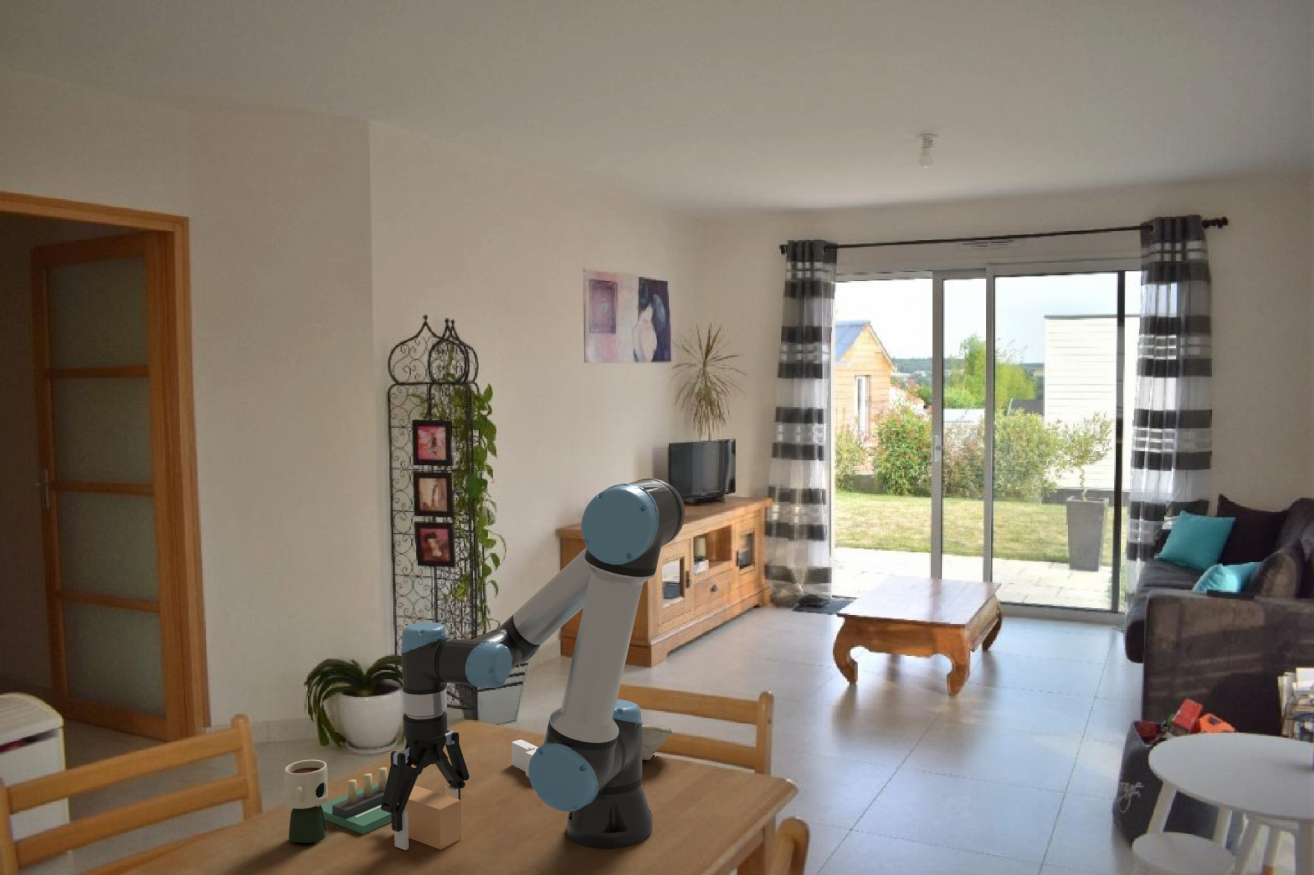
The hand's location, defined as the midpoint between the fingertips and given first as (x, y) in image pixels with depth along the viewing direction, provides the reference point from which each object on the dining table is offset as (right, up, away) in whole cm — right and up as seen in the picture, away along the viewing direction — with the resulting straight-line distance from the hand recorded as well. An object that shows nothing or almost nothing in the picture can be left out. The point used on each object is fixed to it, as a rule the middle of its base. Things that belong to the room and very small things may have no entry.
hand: (427, 835), depth 182 cm
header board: (-13, 0, +10) cm, 17 cm away
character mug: (-21, -1, -1) cm, 21 cm away
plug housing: (-1, 0, +1) cm, 1 cm away
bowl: (+36, +2, +35) cm, 51 cm away
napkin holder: (+14, +1, +29) cm, 32 cm away
